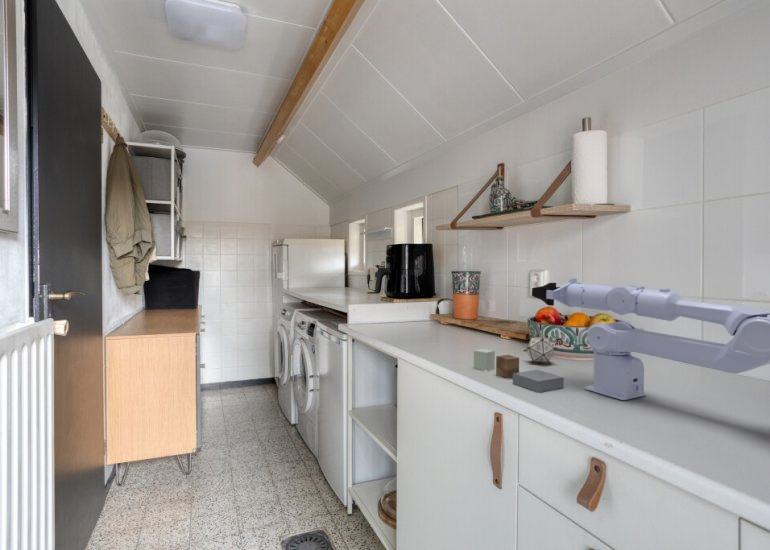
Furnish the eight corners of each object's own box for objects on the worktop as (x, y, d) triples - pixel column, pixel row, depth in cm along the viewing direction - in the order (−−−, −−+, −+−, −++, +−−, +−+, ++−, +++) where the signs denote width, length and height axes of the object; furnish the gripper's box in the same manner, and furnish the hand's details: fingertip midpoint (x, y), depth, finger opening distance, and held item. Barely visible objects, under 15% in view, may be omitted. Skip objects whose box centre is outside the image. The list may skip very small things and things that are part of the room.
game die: (542, 374, 126) (557, 346, 128) (550, 370, 118) (566, 340, 120) (514, 357, 128) (530, 330, 130) (520, 353, 120) (537, 323, 122)
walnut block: (519, 377, 108) (519, 357, 108) (507, 379, 106) (507, 359, 106) (507, 373, 112) (508, 354, 112) (496, 375, 110) (496, 356, 110)
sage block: (494, 368, 117) (494, 350, 117) (486, 371, 114) (486, 352, 114) (482, 366, 120) (482, 348, 120) (473, 368, 117) (473, 350, 117)
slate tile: (563, 387, 99) (563, 377, 98) (538, 392, 95) (538, 381, 95) (536, 379, 106) (537, 369, 106) (512, 383, 102) (512, 373, 102)
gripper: (609, 279, 103) (562, 276, 115) (569, 279, 97) (523, 276, 109) (608, 308, 104) (561, 302, 116) (567, 310, 97) (522, 303, 109)
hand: (543, 291), depth 112 cm, fingers open, 7 cm apart
